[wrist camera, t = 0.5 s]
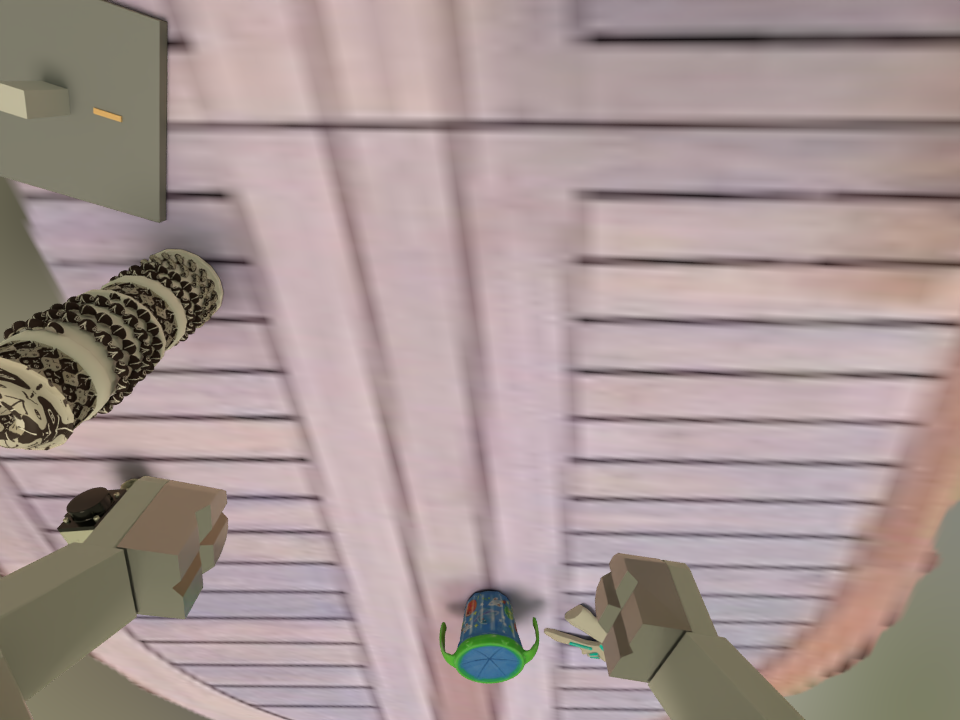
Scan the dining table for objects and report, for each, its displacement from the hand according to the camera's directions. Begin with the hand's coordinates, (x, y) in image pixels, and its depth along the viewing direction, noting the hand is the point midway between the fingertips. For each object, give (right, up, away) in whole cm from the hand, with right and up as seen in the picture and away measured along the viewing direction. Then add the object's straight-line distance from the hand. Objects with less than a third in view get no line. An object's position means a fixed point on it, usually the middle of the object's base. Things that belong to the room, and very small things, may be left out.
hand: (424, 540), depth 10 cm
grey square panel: (-38, +28, +36) cm, 59 cm away
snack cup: (+3, -37, +73) cm, 82 cm away
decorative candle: (-32, +12, +45) cm, 57 cm away
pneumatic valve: (-47, -15, +61) cm, 78 cm away
